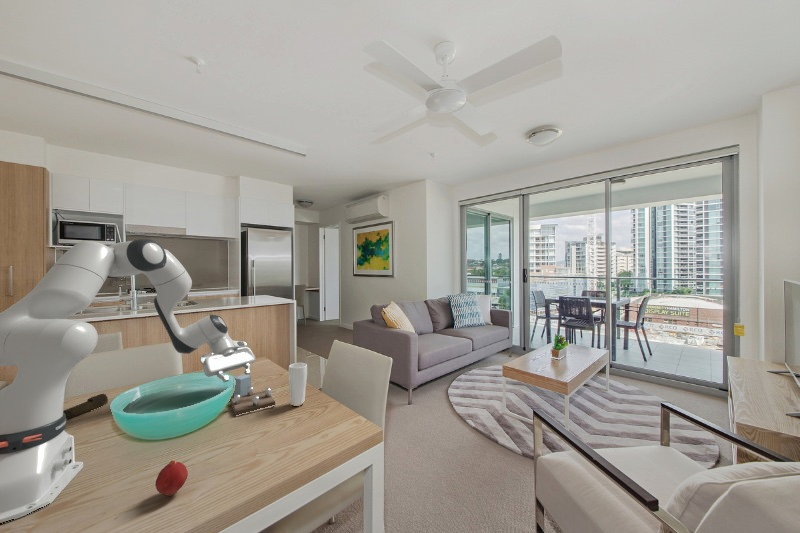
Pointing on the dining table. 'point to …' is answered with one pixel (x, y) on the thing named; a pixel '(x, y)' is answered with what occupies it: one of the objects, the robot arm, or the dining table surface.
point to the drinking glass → (297, 382)
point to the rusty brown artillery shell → (86, 406)
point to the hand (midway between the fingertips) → (237, 377)
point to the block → (242, 384)
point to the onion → (171, 478)
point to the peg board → (252, 401)
